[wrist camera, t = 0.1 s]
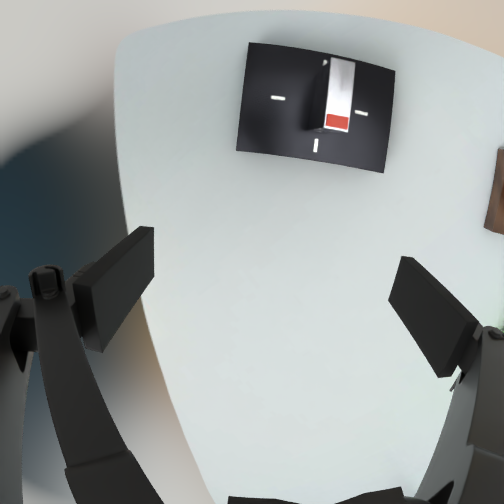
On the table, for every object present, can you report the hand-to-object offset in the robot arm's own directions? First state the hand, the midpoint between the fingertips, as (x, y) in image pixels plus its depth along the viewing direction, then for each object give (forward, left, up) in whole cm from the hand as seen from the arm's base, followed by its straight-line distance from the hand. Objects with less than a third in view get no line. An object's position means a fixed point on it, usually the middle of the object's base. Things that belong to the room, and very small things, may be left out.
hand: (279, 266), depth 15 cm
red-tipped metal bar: (-11, +4, -18) cm, 21 cm away
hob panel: (-11, +4, -21) cm, 24 cm away
